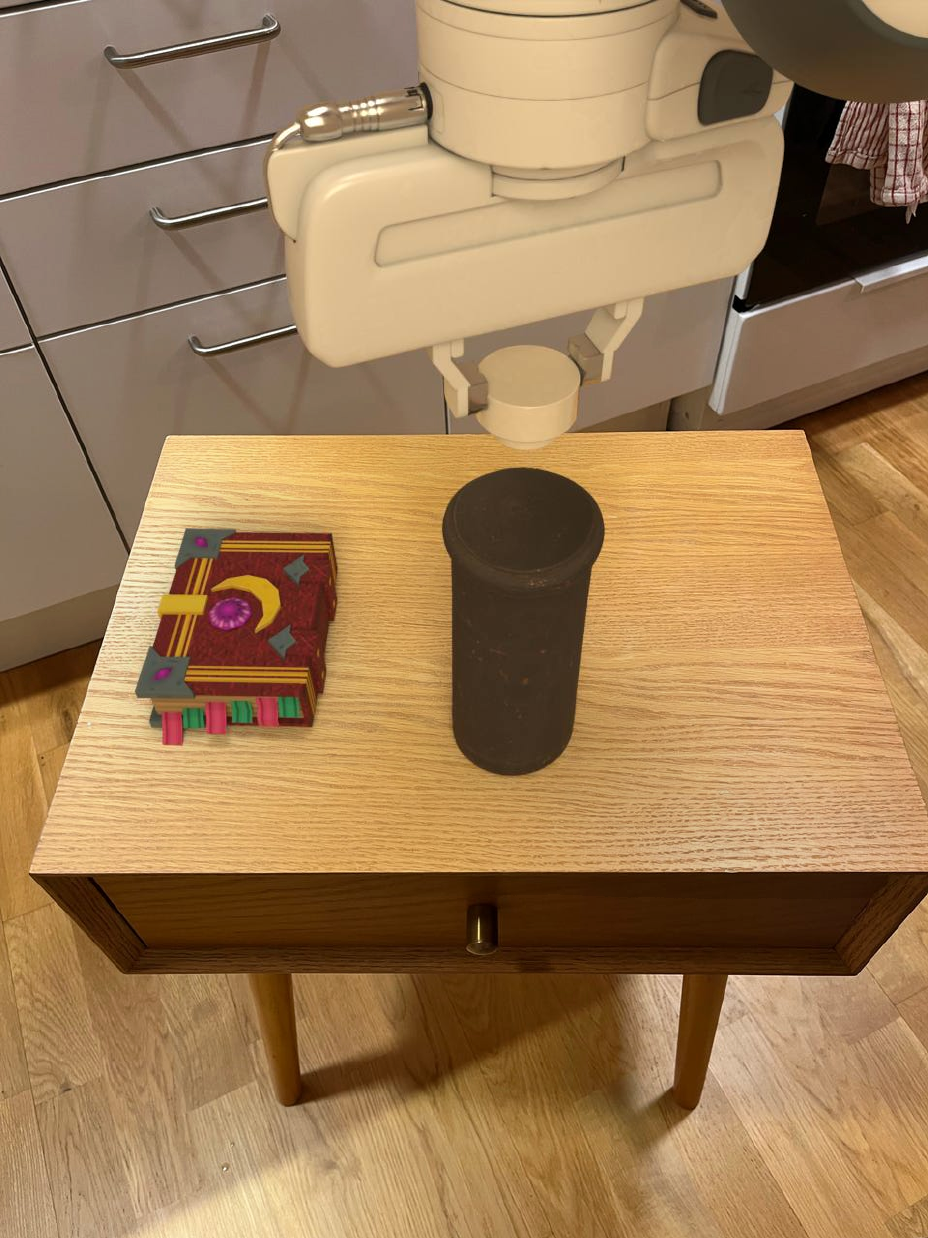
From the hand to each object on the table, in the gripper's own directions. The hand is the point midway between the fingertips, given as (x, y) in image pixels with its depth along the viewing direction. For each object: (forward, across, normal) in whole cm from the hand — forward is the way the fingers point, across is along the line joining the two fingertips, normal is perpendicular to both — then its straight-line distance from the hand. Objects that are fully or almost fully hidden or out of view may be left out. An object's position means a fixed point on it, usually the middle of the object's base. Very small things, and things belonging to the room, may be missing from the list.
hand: (528, 391), depth 44 cm
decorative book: (+28, -15, +13) cm, 34 cm away
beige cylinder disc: (+2, 0, 0) cm, 2 cm away
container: (+28, 0, 0) cm, 28 cm away
